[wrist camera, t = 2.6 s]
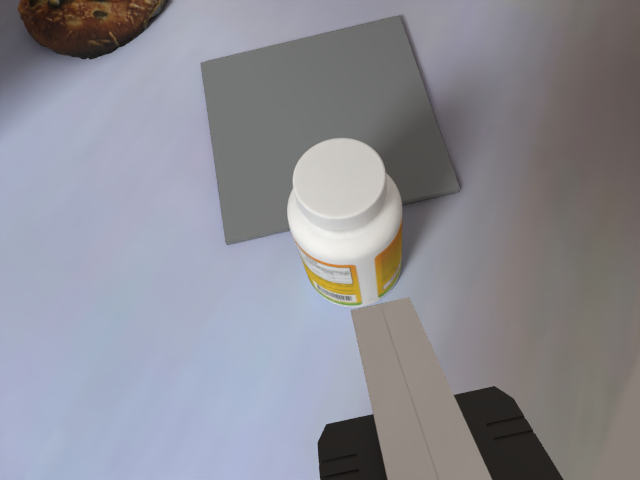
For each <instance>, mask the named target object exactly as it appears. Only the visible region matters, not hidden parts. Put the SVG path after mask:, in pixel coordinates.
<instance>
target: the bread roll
mask: <svg viewBox="0 0 640 480" xmlns="http://www.w3.org/2000/svg"><path fill="white" fill-rule="evenodd" d="M166 1H167V0H21V1H20V4H19V7H18V11H19V13H20V14H21V19H22V20H23V22H24V25H25V27H26V29H27V30H28V32H29V33H30V35H31V36H32V37H33V38H34V39H35V40H36V41H37V42H38V43H39V44H40V45H42V46H44V47H48V48H50V49H51V50H53V51H54V52H56V53H58V54H62V55H69V56H72V57H80V58H81V59H87V58H89V59H93V58H96V57H98V56H102V55H105V54H109V53H111V52H113V51H114V50H115V49H114V48H116V47H118V46H119V47H122V46H124V45H125V44H127V43H129V42H130V41H132V40H133V39H134V38H135V37H136V36H138V35H139V34H140V33H141V32H143V30H144V29H146V28H147V27H148V24H149V19H150V18H151V17H152V16H155V15H158V14H159V13H160V12H161V10H162V9H163V8H164V5H165V3H166Z"/></svg>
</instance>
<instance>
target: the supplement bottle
mask: <svg viewBox="0 0 640 480" xmlns="http://www.w3.org/2000/svg"><path fill="white" fill-rule="evenodd" d="M287 217H288V222H289V227H290V230H291V233H292V236H293V238H294V240H295V243H296V246H297V248H298V251H299V254H300V257H301V259H302V262H303V264H304V267H305V270H306V272H307V275H308V278H309V280H310V282H311V284H312V286H313V287H314V289H315V290H316V291H317V292H318V293H319V294H320V295H321V296H322V297H323V298H325V299H326V300H328V301H330V302H331V303H334V304H336V305H339V306H344V307H363V306H367V305H370V304H373V303H375V302H377V301H378V300H380V299H381V298H383V297H384V296H385V295H386V294H387V293H388V292H389V291H390V290H391V289H392V288H393V286H394V285H395V283H396V282H397V280H398V277H399V274H400V271H401V264H402V202H401V197H400V193H399V191H398V188H397V186H396V184H395V183H394V181H393V180H392V179H391V177H390V176H389V175H388V174H387V173H386V171H385V167H384V164H383V161H382V159H381V158H380V156H379V155H378V154H377V152H376V151H375V150H374V149H373V148H371V147H370V146H368V145H367V144H365V143H363V142H361V141H358V140H354V139H349V138H334V139H329V140H326V141H323V142H320V143H318V144H316V145H315V146H313V147H311V148H310V149H309V150H308V151H306V152H305V153H304V154H303V156H302V157H301V158H300V160H299V161H298V163H297V165H296V167H295V169H294V173H293V189H292V191H291V194H290V196H289V200H288V206H287Z"/></svg>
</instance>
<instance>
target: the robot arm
mask: <svg viewBox="0 0 640 480" xmlns="http://www.w3.org/2000/svg"><path fill="white" fill-rule="evenodd" d="M351 314H352V319H353V323H354V328H355V332H356V337H357V342H358V346H359V351H360V355H361V360H362V365H363V369H364V374H365V378H366V383H367V387H368V392H369V397H370V401H371V406H372V410H373V414H372V415H367V416H363V417H358V418H353V419H349V420H344V421H340V422H335V423H330V424H326V426H325V428H324V430H323V432H322V435H321V437H320V439H319V441H318V456H319V471H320V480H563V478H562V477H561V475H560V473H559V472H558V470H557V469H556V467H555V465H554V464H553V462H552V460H551V459H550V457H549V456H548V454H547V452H546V451H545V449H544V447H543V446H542V444H541V443H540V441H539V439H538V438H537V436H536V434H535V433H533V429H532V428H531V426H530V425H529V423H528V421H527V420H526V419H525V418H524V415H523V413H522V412H521V410H520V408H519V407H518V405H517V403H516V402H515V400H514V399H513V398H512V397H510V396H509V395H507V394H506V393H504V392H503V391H501V390H500V389H498V388H496V387H495V386H493V387H489V388H484V389H480V390H475V391H470V392H466V393H461V394H456V395H453V392H452V390H451V388H450V386H449V384H448V381H447V379H446V377H445V375H444V373H443V370H442V368H441V366H440V364H439V362H438V359H437V357H436V355H435V353H434V351H433V348H432V346H431V344H430V342H429V340H428V337H427V335H426V333H425V331H424V329H423V326H422V324H421V322H420V320H419V318H418V315H417V313H416V311H415V309H414V307H413V304H412V302H411V300H410V298H409V297H408V298H404V299H399V300H395V301H390V302H386V303H381V304H377V305H372V306H368V307H363V308H358V309H354V310H351Z"/></svg>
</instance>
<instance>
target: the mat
mask: <svg viewBox="0 0 640 480" xmlns="http://www.w3.org/2000/svg"><path fill="white" fill-rule="evenodd" d="M201 69H202V76H203V84H204V91H205V98H206V105H207V112H208V120H209V127H210V134H211V141H212V148H213V155H214V163H215V170H216V177H217V184H218V191H219V198H220V206H221V213H222V220H223V227H224V234H225V242H226V244H227V245H229V244H234V243H238V242H243V241H247V240H251V239H256V238H260V237H264V236H269V235H273V234H277V233H282V232H286V231H290V227H289V222H288V217H287V206H288V200H289V196H290V194H291V191H292V189H293V173H294V169H295V167H296V165H297V163H298V161H299V160H300V158H301V157H302V156H303V154H304V153H305V152H306V151H308V150H309V149H310V148H311V147H313V146H315V145H316V144H318V143H320V142H323V141H326V140H329V139H334V138H349V139H354V140H358V141H361V142H363V143H365V144H367V145H368V146H370V147H371V148H373V149H374V150H375V151H376V152H377V154H378V155H379V156H380V158H381V159H382V161H383V164H384V167H385V171H386V173H387V174H388V175H389V176H390V177H391V179H392V180H393V181H394V183H395V184H396V186H397V188H398V191H399V193H400V197H401V202H402V205H403V204H408V203H412V202H416V201H421V200H425V199H429V198H434V197H438V196H442V195H447V194H451V193H455V192H459V191H460V187H459V184H458V181H457V178H456V175H455V172H454V170H453V167H452V164H451V161H450V158H449V155H448V152H447V149H446V147H445V144H444V141H443V138H442V135H441V132H440V129H439V127H438V124H437V121H436V118H435V115H434V112H433V109H432V107H431V104H430V101H429V98H428V95H427V92H426V89H425V87H424V84H423V81H422V78H421V75H420V72H419V69H418V67H417V64H416V61H415V58H414V55H413V52H412V49H411V47H410V44H409V41H408V38H407V35H406V32H405V29H404V27H403V24H402V21H401V18H400V16H396V17H391V18H387V19H383V20H379V21H374V22H370V23H366V24H362V25H358V26H353V27H349V28H345V29H341V30H337V31H332V32H328V33H324V34H320V35H315V36H311V37H307V38H303V39H299V40H294V41H290V42H286V43H282V44H278V45H273V46H269V47H265V48H261V49H257V50H252V51H248V52H244V53H240V54H235V55H231V56H227V57H223V58H219V59H214V60H210V61H206V62H202V63H201Z"/></svg>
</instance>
